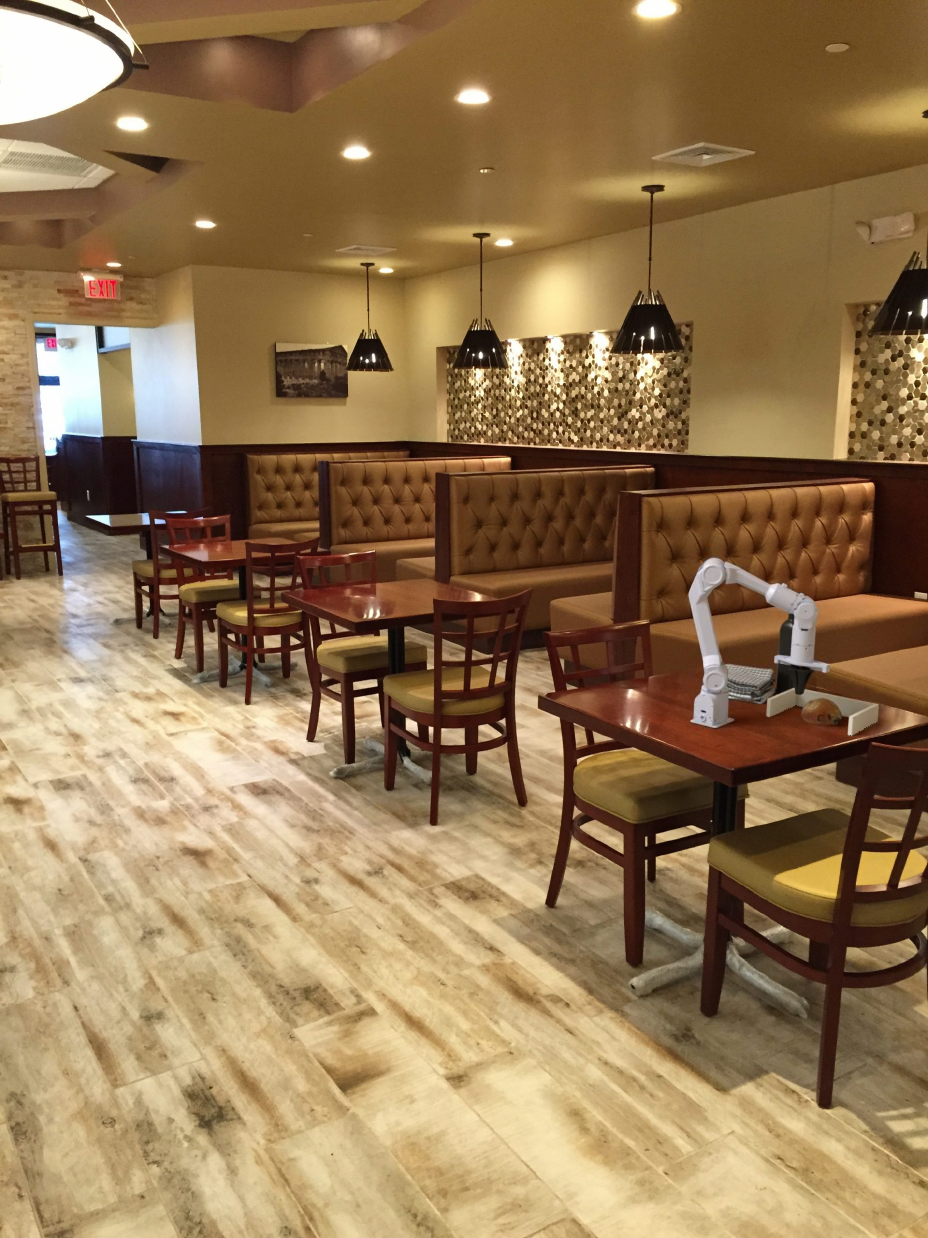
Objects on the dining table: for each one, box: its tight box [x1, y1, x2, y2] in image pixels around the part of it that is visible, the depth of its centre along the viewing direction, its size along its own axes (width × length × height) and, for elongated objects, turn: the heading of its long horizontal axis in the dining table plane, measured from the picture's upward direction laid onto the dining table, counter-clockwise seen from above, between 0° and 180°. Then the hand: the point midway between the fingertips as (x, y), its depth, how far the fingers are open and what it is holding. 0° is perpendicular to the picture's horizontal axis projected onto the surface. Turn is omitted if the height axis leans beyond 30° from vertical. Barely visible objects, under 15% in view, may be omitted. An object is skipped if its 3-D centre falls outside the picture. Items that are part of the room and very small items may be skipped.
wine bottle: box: [775, 613, 794, 695], centre depth 291 cm, size 6×6×30 cm
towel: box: [702, 663, 777, 705], centre depth 293 cm, size 15×18×8 cm
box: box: [766, 688, 880, 737], centre depth 270 cm, size 16×24×5 cm, turn 45°
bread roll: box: [801, 698, 842, 727], centre depth 269 cm, size 10×10×8 cm
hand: (799, 693), depth 261 cm, fingers closed
